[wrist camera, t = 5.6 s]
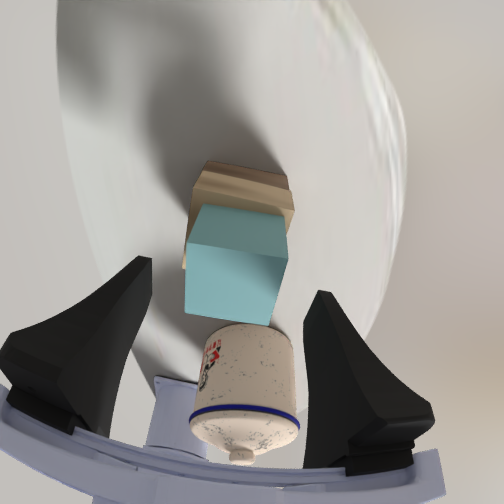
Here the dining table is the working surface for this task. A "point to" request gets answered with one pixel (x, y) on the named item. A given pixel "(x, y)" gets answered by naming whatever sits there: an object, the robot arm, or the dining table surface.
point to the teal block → (235, 264)
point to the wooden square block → (248, 174)
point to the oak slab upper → (237, 198)
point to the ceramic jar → (246, 392)
